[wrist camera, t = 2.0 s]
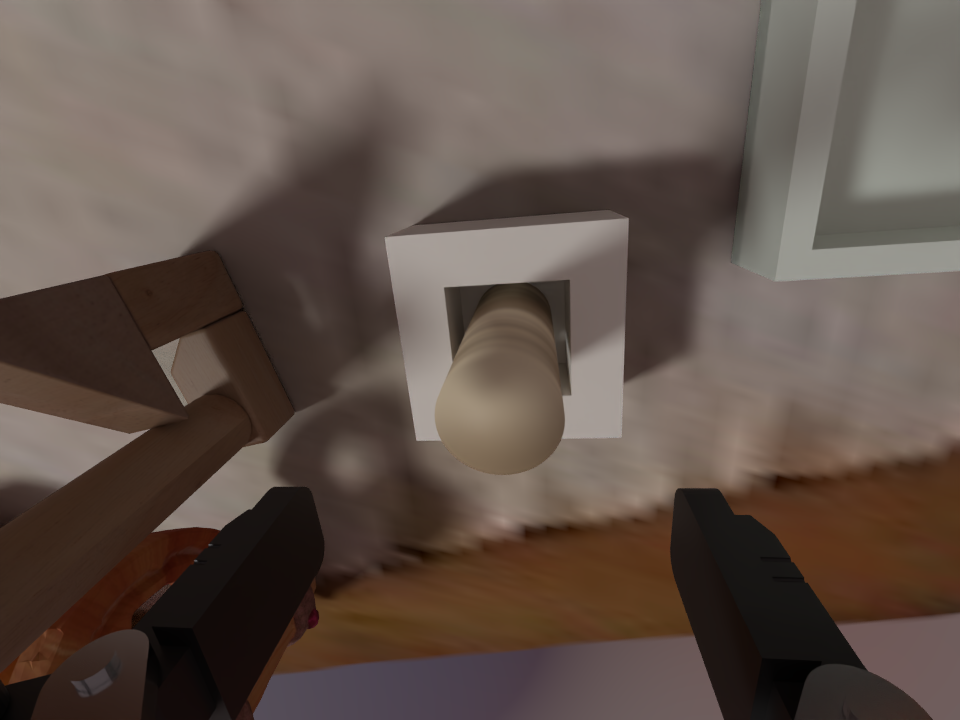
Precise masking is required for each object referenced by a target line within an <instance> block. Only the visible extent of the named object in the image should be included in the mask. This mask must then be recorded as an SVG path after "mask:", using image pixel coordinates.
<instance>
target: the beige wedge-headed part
mask: <svg viewBox="0 0 960 720" xmlns="http://www.w3.org/2000/svg"><path fill="white" fill-rule="evenodd" d="M242 307H243V305H242V301H241V299H240V297H239V295H238V293H237V291H236V289H235V287H234V285H233V283H232V281H231V279H230V277H229V275H228V273H227V271H226V269H225V267H224V265H223V262H222V260H221V258H220V256H219V255H218V253H217V252H216V251H204V252H200V253H196V254H191V255H187V256H183V257H178V258H174V259H169V260H165V261H161V262H156V263H152V264H147V265H143V266H139V267H134V268H130V269H125V270H121V271H117V272H112V273H108V274H105V275H102V276H98V277H93V278H89V279H84V280H80V281H76V282H71V283H67V284H63V285H58V286H54V287H50V288H45V289H41V290H36V291H32V292H28V293H23V294H19V295H15V296H10V297H6V298H2V299H0V403H3V404H7V405H11V406H15V407H20V408H24V409H28V410H32V411H37V412H41V413H45V414H49V415H53V416H58V417H62V418H66V419H70V420H74V421H79V422H83V423H87V424H91V425H95V426H100V427H104V428H108V429H112V430H116V431H121V432H125V433H129V434H130V433H134V432H139V431H143V430H147V429H150V430H148V431H147V432H145V433H144V434H142V435H141V436H139V437H138V438H136V439H135V440H133V441H132V442H130V443H129V444H127V445H126V446H124V447H123V448H121V449H120V450H118V451H117V452H115V453H114V454H112V455H110V456H109V457H107V458H106V459H104V460H103V461H101V462H100V463H98V464H97V465H95V466H94V467H92V468H91V469H89V470H88V471H86V472H85V473H83V474H82V475H80V476H79V477H77V478H76V479H74V480H73V481H71V482H70V483H68V484H67V485H65V486H63V487H62V488H60V489H59V490H57V491H56V492H54V493H53V494H51V495H50V496H48V497H47V498H45V499H44V500H42V501H41V502H39V503H38V504H36V505H35V506H33V507H32V508H30V509H29V510H27V511H26V512H24V513H23V514H21V515H20V516H18V517H17V518H15V519H13V520H12V521H10V522H9V523H7V524H6V525H4V526H3V527H1V528H0V673H1V672H2V671H3V670H4V669H5V668H6V667H7V666H9V665H10V664H11V663H12V662H13V661H14V660H15V659H16V658H17V657H18V656H19V655H20V654H21V653H22V652H24V651H25V650H26V649H27V648H28V647H29V646H30V645H31V644H32V643H33V642H34V641H35V640H36V639H37V638H39V637H40V636H41V635H42V634H43V633H44V632H45V631H46V630H47V629H48V628H49V627H50V626H51V625H53V624H54V623H55V622H56V621H57V620H58V619H59V618H60V617H61V616H62V615H63V614H64V613H65V612H66V611H68V610H69V609H70V608H71V607H72V606H73V605H74V604H75V603H76V602H77V601H78V600H79V599H80V598H81V597H83V596H84V595H85V594H86V593H87V592H88V591H89V590H90V589H91V588H92V587H93V586H94V585H95V584H97V583H98V582H99V581H100V580H101V579H102V578H103V577H104V576H105V575H106V574H107V573H108V572H109V571H110V570H112V569H113V568H114V567H115V566H116V565H117V564H118V563H119V562H120V561H121V560H122V559H123V558H124V557H125V556H127V555H128V554H129V553H130V552H131V551H132V550H133V549H134V548H135V547H136V546H137V545H138V544H139V543H141V542H142V541H143V540H144V539H145V538H146V537H147V536H148V535H149V534H150V533H151V532H152V531H153V530H154V529H156V528H157V527H158V526H159V525H160V524H161V523H162V522H163V521H164V520H165V519H166V518H167V517H168V516H169V515H171V514H172V513H173V512H174V511H175V510H176V509H177V508H178V507H179V506H180V505H181V504H182V503H183V502H185V501H186V500H187V499H188V498H189V497H190V496H191V495H192V494H193V493H194V492H195V491H196V490H197V489H198V488H200V487H201V486H202V485H203V484H204V483H205V482H206V481H207V480H208V479H209V478H210V477H211V476H212V475H213V474H215V473H216V472H217V471H218V470H219V469H220V468H221V467H222V466H223V465H224V464H225V463H226V462H227V461H229V460H230V459H231V458H232V457H233V456H234V455H235V454H236V453H237V452H238V451H239V450H240V449H241V448H242V447H246V446H250V445H255V444H259V443H264V442H267V441H268V440H269V439H270V438H271V437H272V436H273V435H274V434H275V433H276V432H277V431H278V430H279V429H280V428H281V427H282V426H283V425H284V424H285V423H286V422H287V421H288V420H289V419H290V418H291V417H292V416H293V415H294V409H293V407H292V405H291V403H290V401H289V399H288V397H287V395H286V393H285V391H284V388H283V386H282V384H281V382H280V380H279V378H278V376H277V374H276V372H275V370H274V368H273V366H272V364H271V362H270V360H269V358H268V356H267V354H266V352H265V350H264V348H263V345H262V343H261V341H260V339H259V337H258V335H257V333H256V331H255V329H254V327H253V325H252V323H251V321H250V319H249V317H248V315H247V313H246V312H245V311H239V310H240V309H241V308H242ZM178 338H180V339H179V343H178V347H177V350H176V354H175V358H174V361H173V365H172V369H171V374H172V376H173V378H174V380H175V382H176V383H177V385H178V387H179V389H180V390H181V392H182V394H183V396H184V397H185V399H186V401H187V403H188V405H186V406H185V407H184V406H183V405H182V403H181V401H180V399H179V398H178V396H177V394H176V392H175V391H174V389H173V387H172V386H171V384H170V382H169V380H168V379H167V377H166V375H165V373H164V372H163V370H162V368H161V367H160V365H159V363H158V361H157V360H156V358H155V356H154V354H153V353H152V351H151V350H154V349H156V348H158V347H160V346H163V345H165V344H167V343H169V342H171V341H174V340H176V339H178Z"/></svg>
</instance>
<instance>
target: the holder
mask: <svg viewBox="0 0 960 720" xmlns="http://www.w3.org/2000/svg"><path fill="white" fill-rule="evenodd" d="M628 227H629V218H627V217H625V216H623V215H620V214H618V213H616V212H613V211H611V210H599V211H587V212H574V213H562V214H549V215H537V216H524V217H512V218H499V219H487V220H474V221H462V222H449V223H437V224H425V225H413V226H411V227H408V228H406V229H403V230H401V231H398V232H396V233H393V234H391V235H388V236H386V237H384V238H385V244H386V250H387V257H388V263H389V269H390V276H391V282H392V288H393V295H394V301H395V307H396V314H397V320H398V327H399V333H400V339H401V346H402V352H403V358H404V365H405V371H406V377H407V384H408V390H409V396H410V403H411V409H412V415H413V422H414V428H415V434H416V441H441V439H440V437H439V434H438V432H437V429H436V424H435V405H436V401H437V398H438V396H439V393H440V391H441V388H442V386H443V384H444V381H445V379H446V377H447V375H448V372H449V370H450V368H451V365H452V363H453V361H454V358H455V356H456V354H457V351H458V349H459V347H460V345H461V342H462V340H463V338H464V335H465V333H466V331H467V328H468V326H469V324H470V321H471V319H472V317H473V315H474V312H475V310H476V308H477V305H478V303H479V301H480V299H481V297H482V296H483V295H484V293H485V292H486V291H487V290H488V289H489V288H491V287H492V286H494V285H496V284H508V283H524V282H527V283H529V284H531V285H533V286H535V287H536V288H538V289H539V290H540V291H541V292H542V293H543V294H544V296H545V297H546V299H547V301H548V303H549V305H550V309H551V315H552V322H553V330H554V337H555V345H556V352H557V360H558V367H559V375H560V382H561V390H562V397H563V405H564V413H565V427H564V432H563V436H562V438H561V439H570V438H621V436H622V406H623V376H624V346H625V316H626V286H627V257H628Z"/></svg>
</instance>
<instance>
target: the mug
mask: <svg viewBox="0 0 960 720" xmlns="http://www.w3.org/2000/svg"><path fill="white" fill-rule="evenodd" d="M219 532H220V530H216V529H212V528H199V527H193V528H181V529H172V530H165V531H159V532H152V533H150V534H149V535H148V536H147V537H146V538H145V539H144V540H143V541H142V542H141V543H139V544H138V545H137V546H136V547H135V548H134V549H133V550H132V551H131V552H130V553H129V554H128V555H127V556H125V557H124V558H123V559H122V560H121V561H120V562H119V563H118V564H117V565H116V566H115V567H114V568H113V569H112V570H110V571H109V572H108V573H107V574H106V575H105V576H104V577H103V578H102V579H101V580H100V581H99V582H98V583H97V584H95V585H94V586H93V587H92V588H91V589H90V590H89V591H88V592H87V593H86V594H85V595H84V596H83V597H81V598H80V599H79V600H78V601H77V602H76V603H75V604H74V605H73V606H72V607H71V608H70V609H69V610H68V611H66V612H65V613H64V614H63V615H62V616H61V617H60V618H59V619H58V620H57V621H56V622H55V623H54V624H53V625H51V626H50V627H49V628H48V629H47V630H46V631H45V632H44V633H43V634H42V635H41V636H40V637H39V638H37V639H36V640H35V641H34V642H33V643H32V644H31V645H30V646H29V647H28V648H27V649H26V650H25V651H24V652H22V653H21V654H20V657H19V659H18V661H17V663H16V665H15V668H14V671H13V673H12V676H11V678H10V681H9V683H8V685H9V684H13V683H17V682H21V681H25V680H29V679H33V678H37V677H41V676H45V675H49V674H52V673H53V672H54V671H55V670H56V669H57V668H58V667H59V666H60V665H61V664H62V663H63V662H64V661H65V660H66V659H67V658H69V657H70V656H71V655H73V654H74V653H75V652H76V651H78V650H79V649H81V648H82V647H84V646H85V645H87V644H89V643H91V642H92V641H94V640H96V639H98V638H100V637H102V636H105V635H107V634H110V633H113V632H117V631H120V630H127V629H132V616H133V613H134V612H135V611H136V610H137V609H138V608H139V607H140V606H141V605H142V604H143V603H144V602H145V601H147V600H148V599H149V598H150V597H151V596H152V595H154V594H155V593H156V592H157V591H159V590H160V589H161V588H162V587H163V586H165V585H167V584H170V585H172V584H173V583H174V582H175V581H176V580H177V579H178V578H179V577H180V575H181V574H182V573H183V572H184V571H185V570H186V569H187V568H188V567H189V565H190V564H192V565H193V564H194V560H195V559H196V558H197V557H198V555H199V554H200V553H201V552H202V551H203V550H204V549H205V548H208V546H209V545H208V544H209V543H210V542H211V541H212V540H213V539H214V538H215V537H216V535H217V534H218V533H219ZM315 589H316V580H315V578H314V580H313V581H312V583H311V585H310V587H309V589H308V590H307V592H306V594H305V596H304V598H303V599H302V601H301V603H300V605H299V607H298V608H297V610H296V612H295V614H294V616H293V617H292V619H291V621H290V623H289V625H288V626H287V628H286V630H285V632H284V634H283V635H282V637H281V639H280V641H279V643H278V644H277V646H276V648H275V650H274V652H273V653H272V655H271V657H270V659H269V661H268V662H267V664H266V666H265V668H264V670H263V671H262V673H261V675H260V677H259V679H258V680H257V682H256V684H255V686H254V688H253V689H252V691H251V693H250V695H249V696H248V698H247V700H246V702H245V704H244V705H243V707H242V709H241V711H240V713H239V714H238V716H237V718H236V720H254V718H253V713H254V711H255V709H256V707H257V705H258V704H259V702H260V700H261V698H262V695H263V693H264V691H265V689H266V687H267V684H268V682H269V680H270V678H271V676H272V674H273V672H274V671H275V669H276V667H277V665H278V663H279V661H280V659H281V657H282V655H283V653H284V651H285V649H286V647H288V646H290V645H292V644H294V643H295V642H297V641H298V640H299V639H300V638H301V637H302V635H303V634H304V632H305V631H306V629H311V628H314V627H315V626H316V625H317V624H318V620H319V613H318V611H317V610H316V606H315V599H314V591H315Z"/></svg>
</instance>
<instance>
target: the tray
mask: <svg viewBox="0 0 960 720" xmlns="http://www.w3.org/2000/svg"><path fill="white" fill-rule="evenodd" d="M731 263H733V264H736V265H738V266H740V267H742V268H745V269H747V270H749V271H752V272H754V273H756V274H759V275H761V276H763V277H766V278H768V279H770V280H773V281H793V280H810V279H828V278H845V277H863V276H880V275H898V274H915V273H933V272H950V271H960V0H761V8H760V16H759V25H758V33H757V42H756V51H755V59H754V68H753V76H752V85H751V94H750V102H749V111H748V119H747V128H746V137H745V145H744V154H743V162H742V171H741V180H740V188H739V197H738V205H737V214H736V222H735V231H734V240H733V248H732V257H731Z"/></svg>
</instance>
